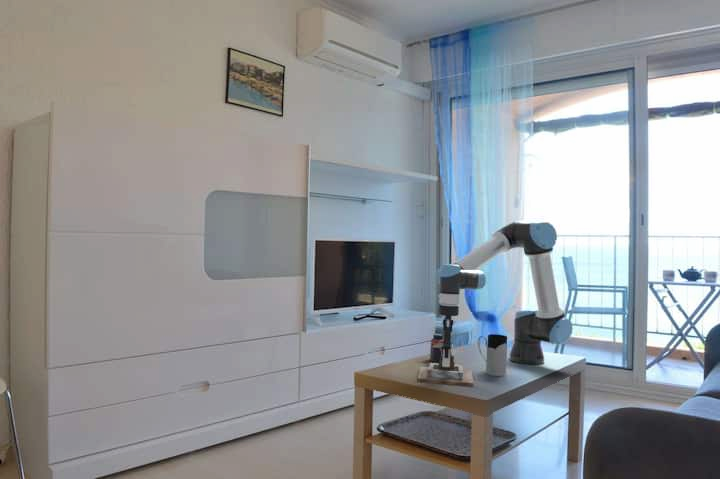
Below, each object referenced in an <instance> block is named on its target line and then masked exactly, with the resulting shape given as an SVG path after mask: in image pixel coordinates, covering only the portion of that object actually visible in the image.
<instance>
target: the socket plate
mask: <svg viewBox="0 0 720 479" xmlns="http://www.w3.org/2000/svg"><path fill="white" fill-rule="evenodd" d="M438 368H439V364H437V363H433V362H429V366H420V367H419V372H418V375H417V382H420V383H431V384H441V385H452V386H453V385H455V386H463V387H466V386H467V387H474V379H473V373H472V370H467V369H463V365H458V364H454V371H446V370H438Z"/></svg>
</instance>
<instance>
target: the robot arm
mask: <svg viewBox="0 0 720 479" xmlns="http://www.w3.org/2000/svg"><path fill="white" fill-rule="evenodd" d="M557 239H558V234H557V230H556V228H555V226H554V225H553V224H552V223H550V222H549V221H547V220H541V219H535V220H532V219H531V220H516V221H514V222H511V223H508V224H507V225H505V226H503V227H502V228H500V229H498V230H497V231H495V232H494V233H493V234H492V236H491V237H490V238H489V239H488V240H486V241H485V242H484V243H482V244H481V245H479V246H478V247H476V248H474V249H473V250H471V251H470V252H468V253H467V254H465V255H464V256H463V257H461V258H460V259H458V260H456V261H455V262H454V263H452V264H451V263H442V265H441V267H439V268H438V269H437V270H436V273H435V280H436V282H437V284H439V295H437V298H439V300H438V302H439V305H438V314H439V315H440V316H445V317H444V319H443V318H442V332H443V333H444V334H443V340H444V344H443V347H442V348H441V349H443V361H442V367H450V349H451V350H452V346H450V344H451V345H453V342H452V340H451V339H452V338H451V337H452V332H453V326H454V319H452V317H457V316H459V312H460V310H459V309H460V306H459V305H460V291H461V290H473V291H474V290H475V291H476V290H481V289H483V288H484V287H485V286H486V283H487V277H486V275H485V273H484V271H482V270H480V268H481V267H483V266H484V265H485V264H487V263H488V262H490V261H491V260H493V259H494V258H495V257H497V256H498V255H500V254H501V253H502V252H503V253H506V252H509V250H512V249H517V248H523V254H524V255H525V256H526V257H528V260H529V265H530V270H531V275H532V283H533V288H534V293H535V294H534V295H535V298H536V305H537V308H538V309H533V310H531V309H530V310H528V309H527V310H526V309H525V310H524V309H523V310H516V311H515V317H514V329H513V330H514V333H513V334H514V336H513V343H512V345H511V346H512V347H511V349H510V352H509V358H508V360H510V361H512V362H515V363H519V364H526V365H541V364H544V363H545V356H544V352H543V349H542V342H543V343H548V344H552V345H557V346H558V345H564V344H566V343H567V342H568V341H569V339H570V338H571V336H572V334H573V323H572V320H570V319H569V318H567V317H566V316H565V312H564V310H563V309H562V308H561V307H560V304H559V298H558V293H557V288H556V282H555V276H554V271H553V270H554V268H553V265H552V258H551V253H552V252H553V250H554V248H553V247H554V246H555V245H556V243H557V242H556V241H557ZM478 269H479V270H478Z"/></svg>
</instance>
